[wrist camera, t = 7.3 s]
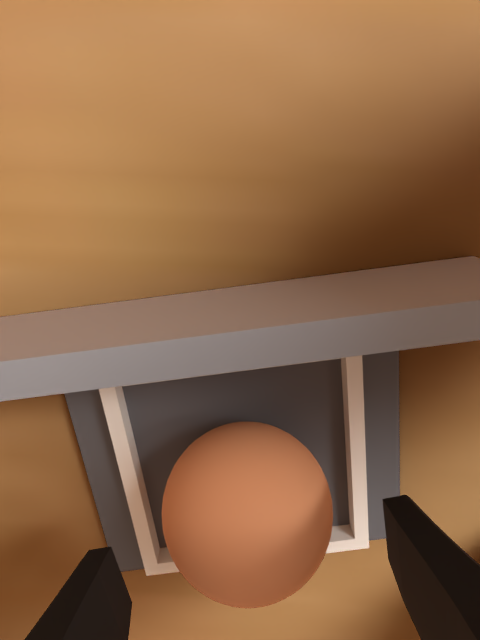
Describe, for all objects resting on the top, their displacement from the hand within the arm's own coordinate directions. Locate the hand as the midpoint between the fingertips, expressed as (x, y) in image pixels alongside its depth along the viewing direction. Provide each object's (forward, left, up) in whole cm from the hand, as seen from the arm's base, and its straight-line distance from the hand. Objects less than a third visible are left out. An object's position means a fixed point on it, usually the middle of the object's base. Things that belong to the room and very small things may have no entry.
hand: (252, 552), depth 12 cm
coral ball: (0, 0, -2) cm, 2 cm away
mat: (0, 0, -5) cm, 5 cm away
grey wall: (0, -5, -5) cm, 7 cm away
